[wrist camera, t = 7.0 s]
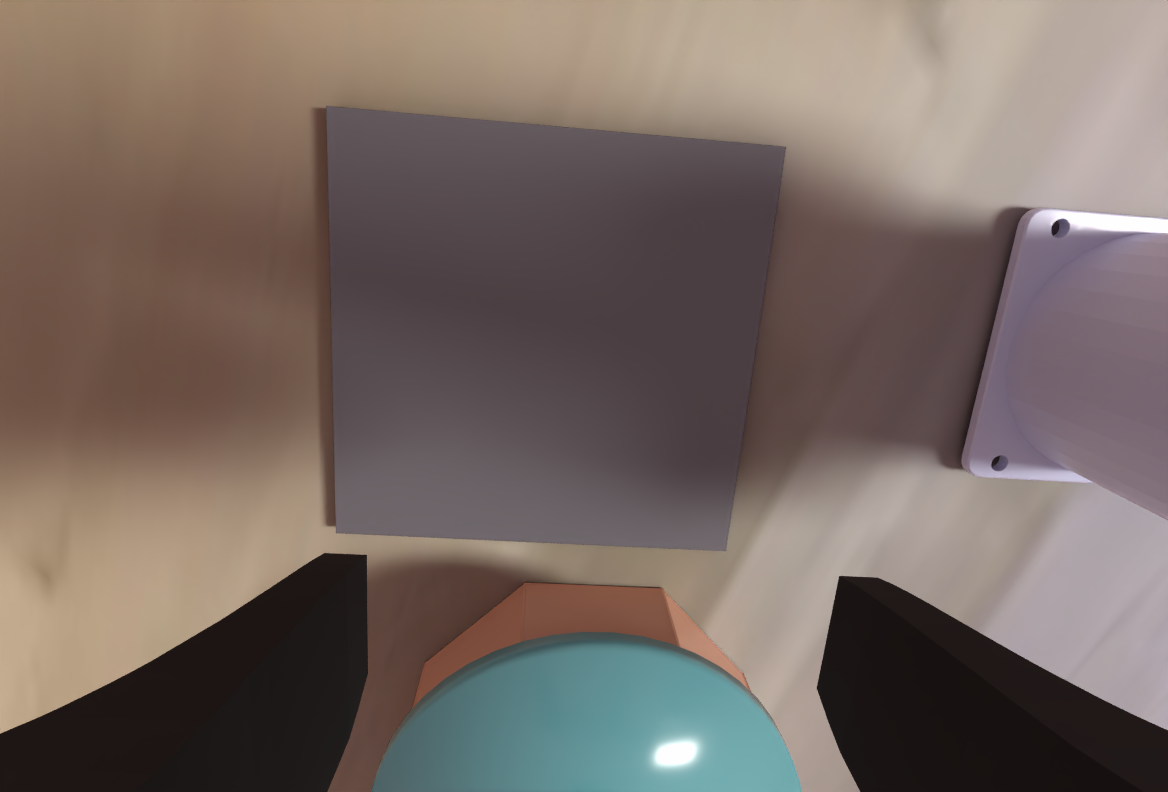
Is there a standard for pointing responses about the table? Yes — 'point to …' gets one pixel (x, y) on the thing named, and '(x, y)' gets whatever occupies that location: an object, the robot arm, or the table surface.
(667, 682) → the lid
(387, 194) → the mat
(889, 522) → the table surface
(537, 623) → the ramekin
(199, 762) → the robot arm
